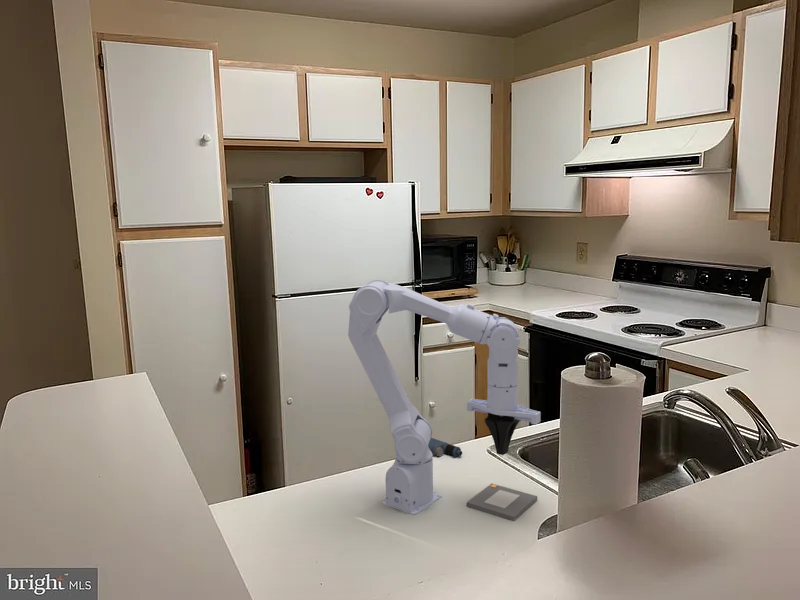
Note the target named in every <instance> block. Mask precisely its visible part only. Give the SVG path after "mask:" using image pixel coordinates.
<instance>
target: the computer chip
mask: <svg viewBox="0 0 800 600" xmlns="http://www.w3.org/2000/svg"><path fill="white" fill-rule="evenodd" d="M537 501H538V495H534V494H530V493H528V492H523V491H522V490H521V491H519V490H516V489H513V488H511V487H506V486H503V485H498V484H496V483H491V484H489V485H488V486H486V487H485V488H483V490H481V491H479V492H478V493H477V494H476V495H474V496H473V497H472V498H470V499H468V500H467V501H466V503H465V504H466V507H468V508H472V509H473V510H474V509H475V510H477V511H480V512H483V513H484V512H485V513H487V514H491V515H493V516H496V517H500V518H504V519H506V520H509V521H513V522H515V520H517V519H518V518H519V517H520V516H522V515H523V513H525V512H526V511H527V510H528V509H529V508H531V506H533V504H535V503H536V502H537Z"/></svg>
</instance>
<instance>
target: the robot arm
mask: <svg viewBox="0 0 800 600" xmlns="http://www.w3.org/2000/svg"><path fill="white" fill-rule="evenodd" d="M348 310H349V317H348V318H349V320H348V330H347V331H348V332H347V333H348V334H347V335H348V338H349V339H348V340H349V341H350V343H351V345H352V347H353V349H354V351H355V353H356V355H357V357H358V360H359V361H360V363H361V365H362V367H363V368H364V369H363V370H364V371H365V373H366V375H367V378H368V379H369V381H370V383H371V385H372V387H373V389H374V391H375V394H376V395H377V397H378V399H379V401H380V402H381V405H382V407H383V409H384V410H385V413H386V415H387V417H388V421H389V426H390V427H389V428H390V433H391V436H392V437H393V441H394V442H393V443H394V451H395V459H394V462H393V464H392V465H391V466H390V467H389V468H388V469H387V470H386V473H385V500H383V501H382V505H383V506H387V507H389V508H392V509H395V510H398V511H401V512H404V513H407V514H410V515H413V516H415V515H418V514H419V513H421V512H422V511H424V510H425V509H426V508H429V507H430V506H431V505H433V504H434V503H436V502H437V501H439V500H440V499H441V498H443V495H442V494H441V493H437V492H434V463H433V460H434V459H433V457H434V455H433V454H432V452H431V451H430V449H429V447H428V445H429V441H430V439H431V438H433V428H432V426H431V423H429V421H428V420H427V419H425V418H424V417H423V415H421V413H420V412H419V410H418V408H416V406H414V405H413V404H412V403H411V401H410V399H409V396H408V395H407V392H406V391H405V389H404V387H403V385H402V382H401V381H400V379H399V376H398V375H397V372H396V370H395V369H394V367H393V364H392V362H391V360H390V358H389V357H388V355H387V352H386V351H385V348H384V346H383V344H382V342H381V340H380V339H379V336H378V334H377V332H378V329H379V326H380V324H381V322H382V319H383V317H384V315H385V314H386V312H388V314H393V313H398V312H403V311H408V312H412V313H414V314H417V315H420V316H422V317H427V318H428V319H432V320H435V321H438V322H441V323H444V324H445V325H446V326H447V328H448V329H449V332H450V333H452V334H453V335H456V336H460V337H462V338H465V339H467V340H470V341H472V342H474V343H478V344H480V345H487V346H488V358H487V383H486V384H487V393H486V394H487V398H486V399H477V398H471V399H469V400H467V401H466V411H468V412H474V411H475V412H479V413H484V414H487V417H486V418H484V423H485V425H486V426H487V428H488V430H489V433H490V435H491V437H492V440H493V442H494V447H495V451H496V454H497V455H502V456H504V455H506V454H507V453H508V452H509V447H510V443H511V441H512V437H513V435H514V432H515V430H516V428H517V426H518V424H519V422H520V421H523V422H527V423H530V424H531V425H535V426H536V425H538V424H539V423H541V420H542V419H541V416H542V413H541V411H538V410H534V409H531V408H528V407H525V406H523V405H520V404H519V359H518V357H519V350H518V348H519V346H520V342H521V339H520V335H519V330H518V327H517V325H516V324H515V322H513V321H512V320H510V319H509V318H507V317H504V316H503V317H502V316H500V317H499V315H498V314H496V313H493V314H489V313H487V312H484V311H482V310H478V309H476V308H475V304H472V303H470V302H468V303H467V304H463V303H460V304H458V305H455V306H450V305H447V304H445V303H443V302H440V301H438V300H436V299H433V298H431V297H428V296H427V295H423V294H422V293H419V292H417V291H414V290H412V289H410V288H407V287H405V286H401V285H399V284H396V283H388V282H386V281H385V280H381V279H373V280H372V281H370V282H368V283H367V284H365V285H363V286H361V287H359V288H358V289H357V290H356V291H355V292H354V294H353V296H352V299H351V301H350V303H349V305H348Z"/></svg>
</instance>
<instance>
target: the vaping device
mask: <svg viewBox="0 0 800 600" xmlns="http://www.w3.org/2000/svg"><path fill="white" fill-rule="evenodd" d="M428 447H429V449H430V451H431V452H432V454H433V457H442V456H443V455H444V454H445V455H448V456H451V457H454V458H458V457H460V456H462V455H463V451H462V449H461V447H460V446H456V445H453V444H450V443H448V442H445V441H442V440H440V439H436V438H433V437H431V439H430V441H429V445H428Z"/></svg>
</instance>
